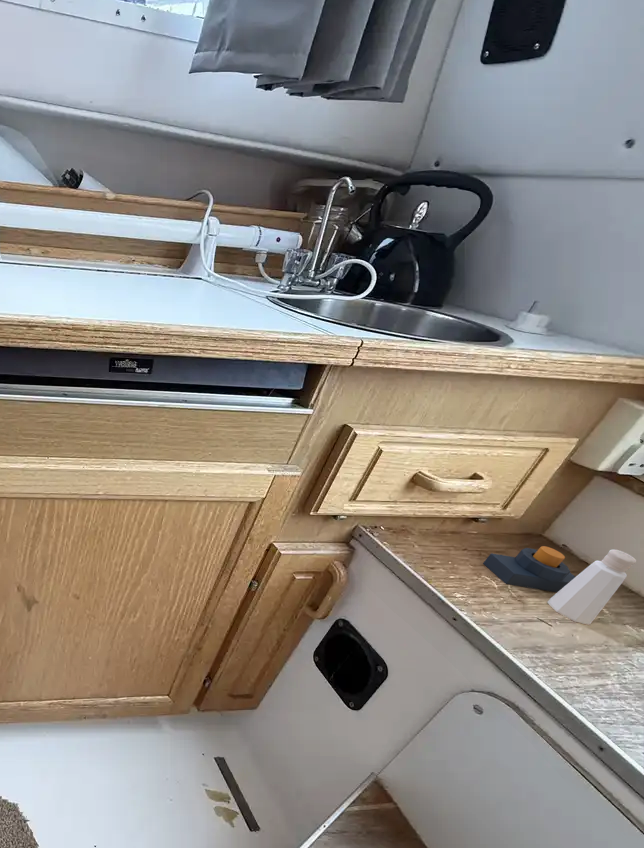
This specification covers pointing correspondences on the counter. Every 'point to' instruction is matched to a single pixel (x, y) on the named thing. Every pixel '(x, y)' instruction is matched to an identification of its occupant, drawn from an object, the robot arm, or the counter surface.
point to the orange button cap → (549, 556)
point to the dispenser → (528, 571)
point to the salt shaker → (592, 588)
